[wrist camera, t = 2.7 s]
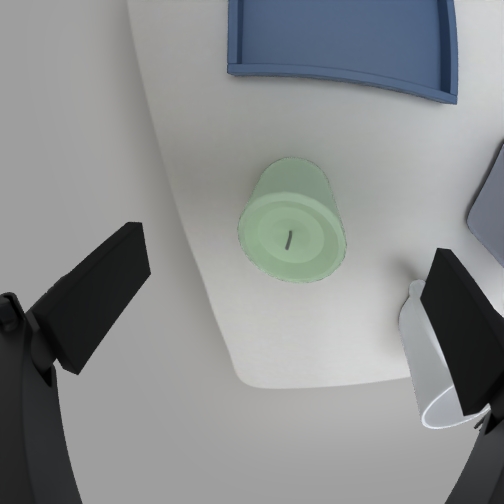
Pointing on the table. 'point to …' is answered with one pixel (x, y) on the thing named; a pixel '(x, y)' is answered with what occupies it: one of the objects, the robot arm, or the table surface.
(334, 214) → the candle
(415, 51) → the blue tray
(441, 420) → the mug
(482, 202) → the soap bottle
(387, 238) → the table surface
